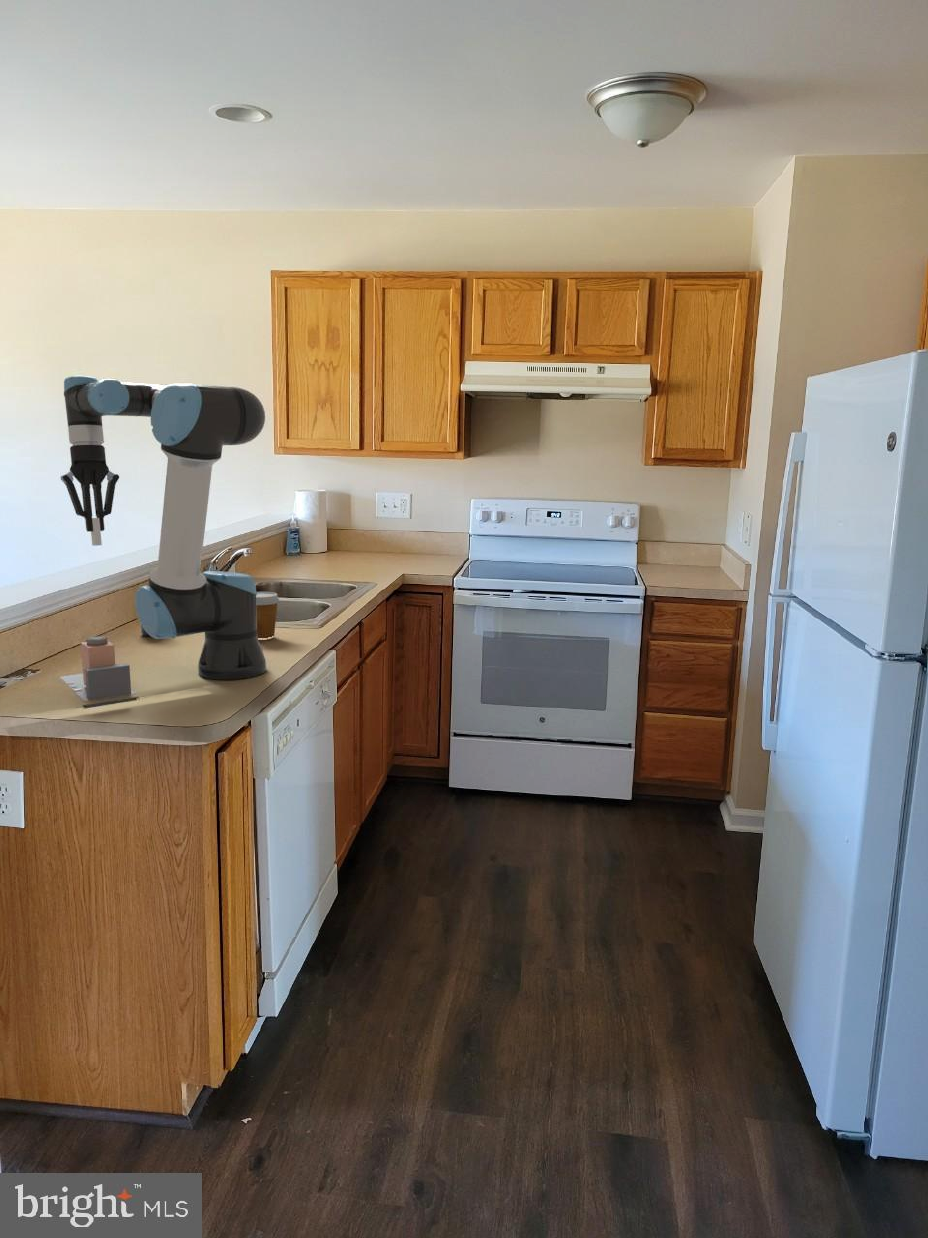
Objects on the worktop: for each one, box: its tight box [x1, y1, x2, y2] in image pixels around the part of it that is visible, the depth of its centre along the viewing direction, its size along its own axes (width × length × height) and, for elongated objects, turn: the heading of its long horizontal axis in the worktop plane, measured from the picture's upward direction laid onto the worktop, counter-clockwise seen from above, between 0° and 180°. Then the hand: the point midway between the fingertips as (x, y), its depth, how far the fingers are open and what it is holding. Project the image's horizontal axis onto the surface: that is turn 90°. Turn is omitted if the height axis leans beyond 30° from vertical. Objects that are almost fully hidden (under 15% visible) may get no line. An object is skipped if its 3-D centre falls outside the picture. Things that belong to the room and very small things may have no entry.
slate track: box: [59, 662, 138, 709], centre depth 181 cm, size 22×10×8 cm, turn 37°
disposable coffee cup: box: [256, 591, 280, 638], centre depth 231 cm, size 10×10×12 cm
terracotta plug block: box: [80, 636, 116, 686], centre depth 178 cm, size 6×5×10 cm
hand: (97, 545), depth 205 cm, fingers closed
